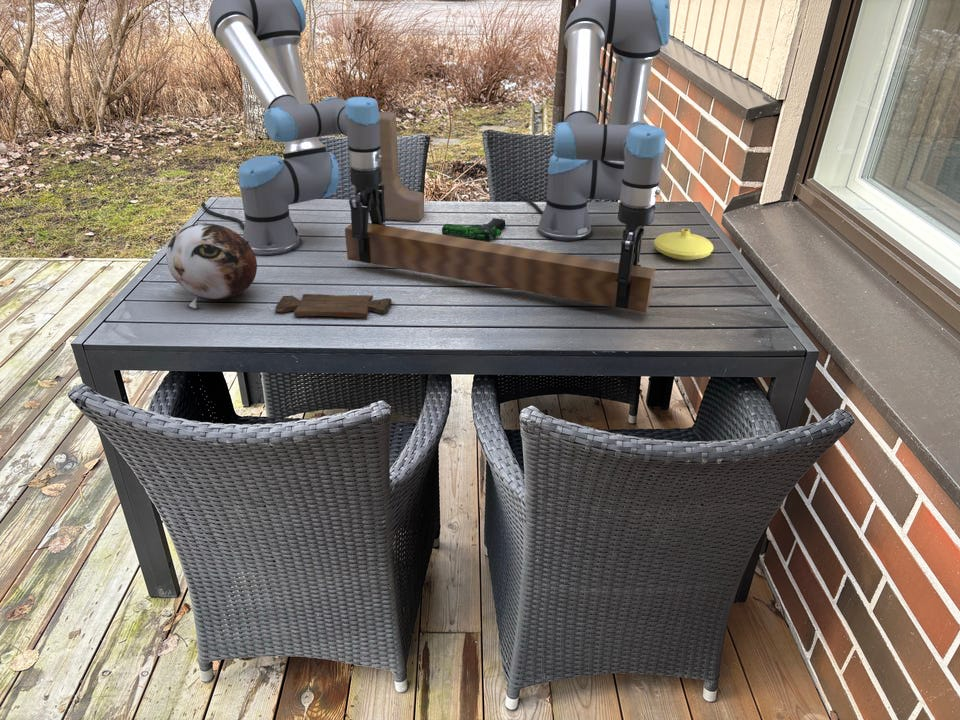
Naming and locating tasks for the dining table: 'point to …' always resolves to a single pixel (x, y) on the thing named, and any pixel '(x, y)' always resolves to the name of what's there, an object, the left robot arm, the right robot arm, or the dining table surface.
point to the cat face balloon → (211, 261)
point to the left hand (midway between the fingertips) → (371, 256)
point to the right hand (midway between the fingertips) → (624, 301)
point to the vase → (683, 245)
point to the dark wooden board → (333, 305)
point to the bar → (502, 265)
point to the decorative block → (396, 176)
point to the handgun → (476, 230)
